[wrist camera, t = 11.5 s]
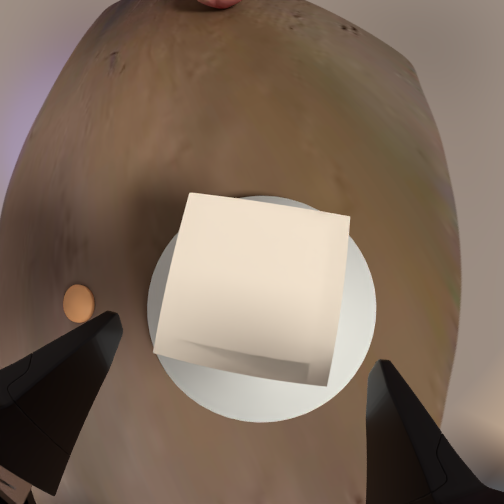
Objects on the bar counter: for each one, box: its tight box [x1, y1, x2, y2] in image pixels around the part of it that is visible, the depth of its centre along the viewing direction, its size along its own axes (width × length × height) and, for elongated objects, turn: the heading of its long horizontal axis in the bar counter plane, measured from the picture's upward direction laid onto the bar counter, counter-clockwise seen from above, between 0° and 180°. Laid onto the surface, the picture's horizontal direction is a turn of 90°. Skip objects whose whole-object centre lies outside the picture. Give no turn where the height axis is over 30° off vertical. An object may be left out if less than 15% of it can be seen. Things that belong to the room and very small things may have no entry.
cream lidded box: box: [153, 193, 350, 387], centre depth 14 cm, size 6×6×10 cm
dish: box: [147, 196, 376, 422], centre depth 20 cm, size 16×16×2 cm
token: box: [63, 285, 95, 323], centre depth 21 cm, size 3×3×1 cm
